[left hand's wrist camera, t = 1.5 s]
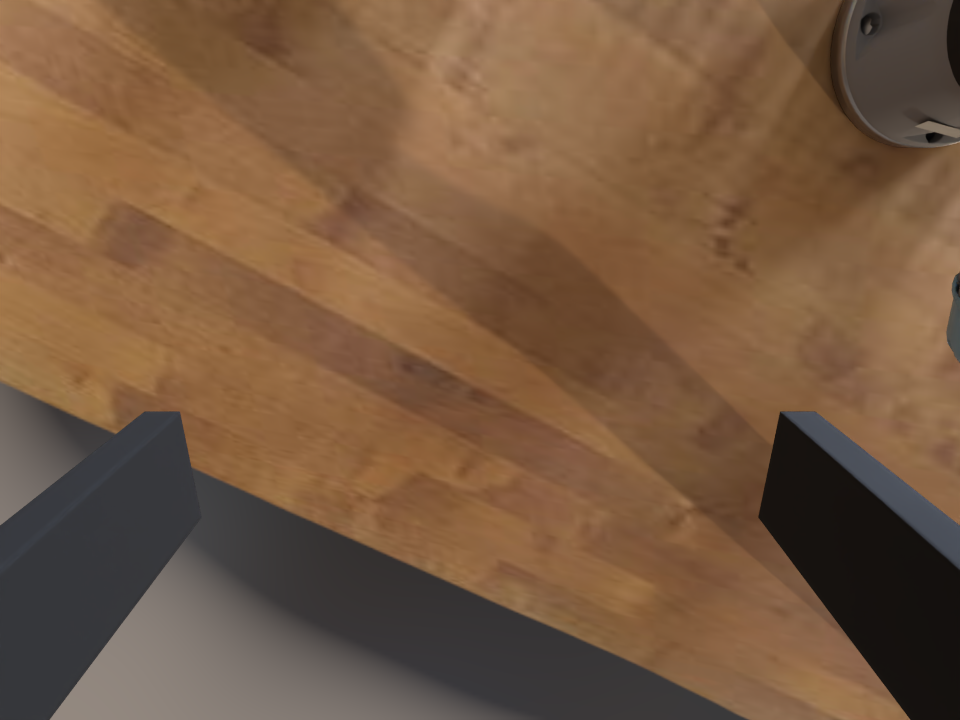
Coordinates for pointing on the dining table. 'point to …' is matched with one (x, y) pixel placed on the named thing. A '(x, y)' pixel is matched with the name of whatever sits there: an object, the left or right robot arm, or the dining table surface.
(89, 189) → the dining table surface
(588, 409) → the dining table surface
